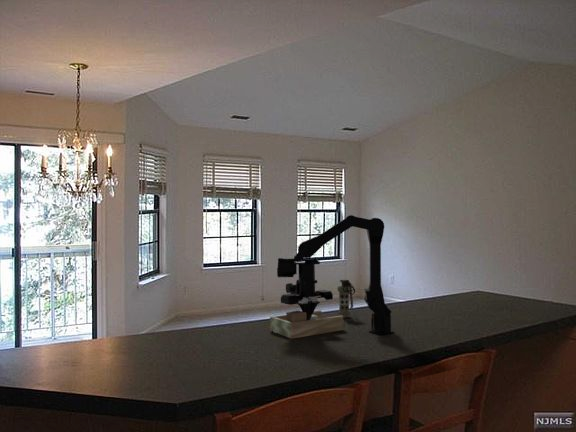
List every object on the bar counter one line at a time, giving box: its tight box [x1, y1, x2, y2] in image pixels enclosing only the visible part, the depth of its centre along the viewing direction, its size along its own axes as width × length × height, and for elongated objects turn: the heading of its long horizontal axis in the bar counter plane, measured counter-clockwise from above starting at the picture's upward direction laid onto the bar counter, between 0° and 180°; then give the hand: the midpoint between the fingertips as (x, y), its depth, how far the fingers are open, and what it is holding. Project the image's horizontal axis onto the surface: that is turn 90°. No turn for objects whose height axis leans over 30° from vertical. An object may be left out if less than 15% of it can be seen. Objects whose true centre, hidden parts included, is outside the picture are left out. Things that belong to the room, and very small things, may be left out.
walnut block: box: [285, 310, 307, 323], centre depth 176 cm, size 5×5×5 cm
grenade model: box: [337, 279, 356, 319], centre depth 204 cm, size 6×7×15 cm
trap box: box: [269, 309, 344, 339], centre depth 181 cm, size 14×22×5 cm, turn 123°
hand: (307, 321), depth 178 cm, fingers closed
